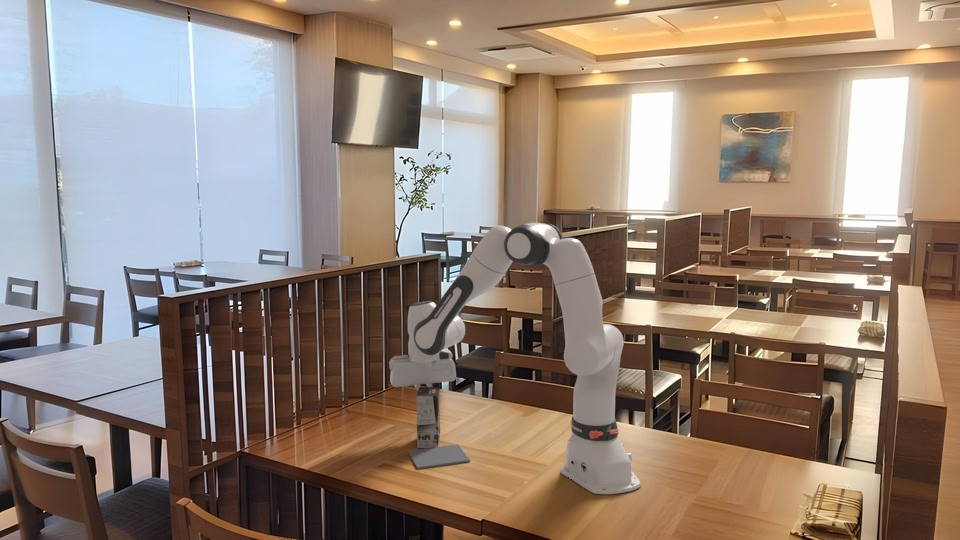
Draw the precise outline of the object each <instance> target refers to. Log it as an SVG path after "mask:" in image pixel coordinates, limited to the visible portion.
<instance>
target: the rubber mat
mask: <svg viewBox="0 0 960 540" xmlns="http://www.w3.org/2000/svg"><path fill="white" fill-rule="evenodd" d="M408 455H409V457H410V458H411V460H412V462H413V464H414V466H415V468H416V469H417V470H421V469H422V470H423V469H429V468H430V469H431V468H438V467H444V466H451V465H458V464H465V463H471V459H470V458H469V456H467V455H466V453H465V451H464V450H463V449H462V447H461V446H460V445H459V444H458V443H457V444H449V445H444V446H443V445H442V446H438V447H433V448H417V449H412V450H411V449H410V450H408Z"/></svg>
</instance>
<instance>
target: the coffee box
mask: <svg viewBox="0 0 960 540" xmlns="http://www.w3.org/2000/svg"><path fill="white" fill-rule="evenodd" d="M440 413H441V408H440V386H432V387H427V386H425V387H419V390H418V391H417V392H416V437H417V438H416V441H417V442H416V443H417V445H416V447H417V449H426V448H433V447H439V444H440V439H441V421H440V420H441V417H440Z"/></svg>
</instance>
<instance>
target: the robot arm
mask: <svg viewBox="0 0 960 540" xmlns="http://www.w3.org/2000/svg"><path fill="white" fill-rule="evenodd" d="M512 263H515V264H519V265H524V266H542V265H544V266H546V267H547V268H548V269H549V271H550V273H551V276H552V280H553V283H554V288H555V290H556V291H555V292H556V294H557V299H558V302H559V305H560V308H561V313H562V319H563V320H562V321H563V329H564V342H565V343H564V345H565V347H564V351H563V352H564V353H563V360H564V364H565V366H566V367H567V368H568V370H569V371H570V372H571V373H573V374H575V375H576V376H577V377H576V381H575V384H574V387H573V400H572V401H573V403H572V404H573V409H572V411H573V413H572V414H573V415H572V417H571V421H570V427H571V429H570V430H571V432H572V433H571V436H570V437H569V438H568V440H567V442H566V451H565V461H564V462H565V463H564V465H563V466H562V467H560V468H561V469H560V473H561V474H562V475H564V476H565V477H567V478H568V477H569V478H568V479H570V480H571V479H572V480H571V481H573V482H575V483H576V484H578V485H580V486H581V487H582V488H584V489H586V490H587V491H588V492H590V493H592V494H595V495H615V494H622V493H626V492H627V493H628V492H632V491H635V490H638V489H639V488H640V487H641V486H642V483H641V481H640V479H639V478H638V477H637V476H636V474H635V473H634V472H633V470H632V460H633V456H632V453H631V452H627V451H626V450H625V446H624V443H622V442H621V440H620V438H619V433H620V432H619V430H620V429H619V428H618V423H617V420H616V417H615V416H616V415H615V414H616V389H617V384H618V377H619V373H620V364H621V360H622V359H621V357H622V352H623V348H624V336H623V334H622V332H621V331H620V330H619V328H617V327H616V326H614V325H612V324H610V323H609V324H608V323H604V320H603V304H604V302H603V298H602V294H601V290H600V288H599V284H598V281H597V276H596V274H595V271H594V267H593V264H592V262H591V260H590V256H589V254H588V252H587V250H586V248H585V246H584V244H583V242H581V241H580V240H579V239H576V238H575V237H563V234H562V232H561V230H560V229H559V228H558V227H557V226H555V225H553V224H552V223H549V222H527V223H524V224H519V225H516V226H515V227H513V228H512V229H511V228H510V227H507V226H505V225H501V224H499V225H495V226H493V227H491V228H490V229H489V230H488V231H487V232H486V234H484V236H483V237H482V238H481V240H480V241H479V242H478V244H477V245H476V246H475V247H474V249H473V251H472V252H471V254H470V256H469V257H468V259H467V261H466V263H465V264H464V266H463V267H462V269H461V271H460V272H459V273H458V275H457V276H456V278H455V280H454V281H453V282H452V284H451V285H450V286H449V287H448V289H447V290H446V291H445V292H444V294H443V295H442V297H441V298H440V299H439V301H438V302H437V304H436V303H435V302H434V301H432V300H423V301H420V302H415V303H413V304H411V305H410V306H409V308H408V312H407V313H408V314H407V333H408V335H409V337H408V342H407V346H408V347H407V348H408V349H407V351H408V353H407V354H403V355H394V356H393V357H391V358H390V359H389V362H388V365H389V366H388V367H389V370H390V373H389V376H390V377H389V378H390V379H389V382H390V384H391V385H392V387H394V388H398V387H399V388H400V387H408V386H414V387H415V389H416V390H417V392H418V390H419V387H421V385H426V387H433V384H436V383H437V384H438V383H446V382H447V383H449V382H454V381H455V380H456V379H457V372H456V371H457V370H456V364H455V362H454V360H453V359H452V358H453V353H452V352H451V351H450V350H449V349H448V348H450V347H453V346H454V345H457V344H458V343H461V342H462V341H463V340H464V338H465V336H466V333H467V332H466V331H467V330H466V329H467V328H466V324H465V322H464V320H463V318H462V317H461V316H459V313H461V310H462V309H463V308H464V307H465V306H466V305H467V304H468V303H470V302H471V301H473V300H474V299H476V298H478V297H479V296H481V295H483V294H485V293H487V292H489V291H491V290H492V289H494V287H496V286H497V285H498V283H500V281H502V279H503V277H504V276H505V275H506V273H507V272H508V270H509V268H510V266H511V265H512Z"/></svg>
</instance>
